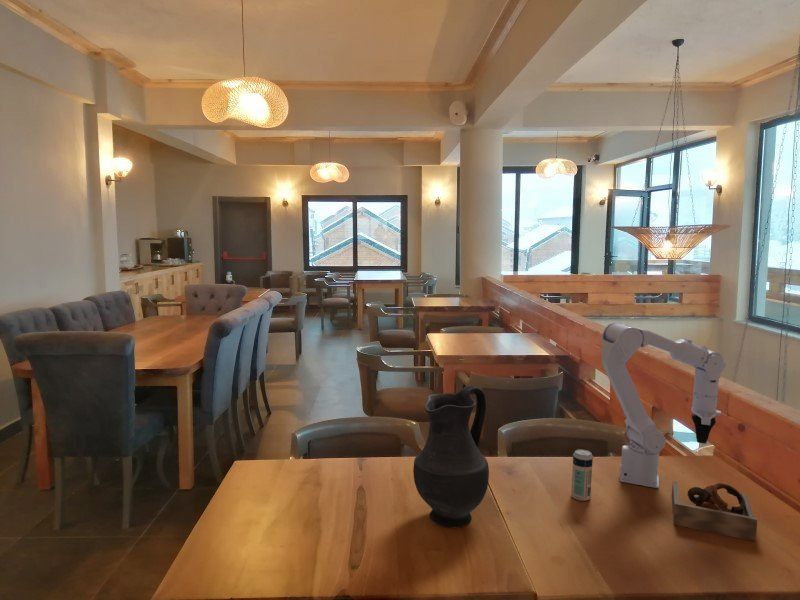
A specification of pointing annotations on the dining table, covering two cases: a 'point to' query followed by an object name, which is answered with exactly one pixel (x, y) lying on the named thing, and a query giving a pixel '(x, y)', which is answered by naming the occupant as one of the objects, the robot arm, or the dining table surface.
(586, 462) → the supplement bottle
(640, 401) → the robot arm
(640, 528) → the dining table surface
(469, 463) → the pitcher
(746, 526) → the box
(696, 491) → the brown hollow ring part
